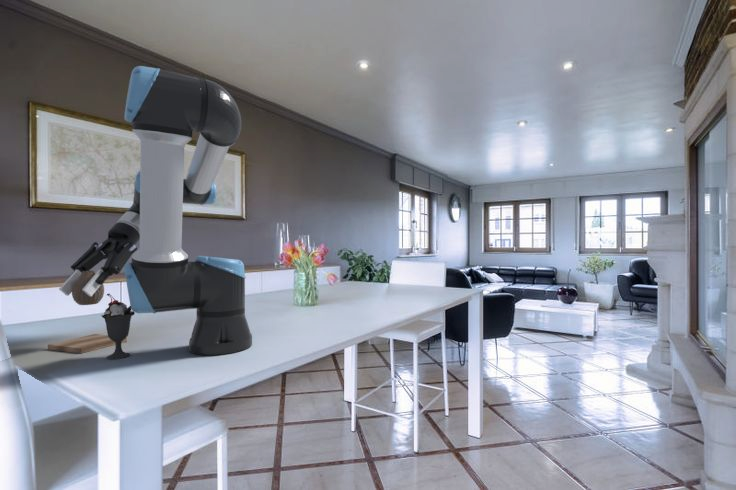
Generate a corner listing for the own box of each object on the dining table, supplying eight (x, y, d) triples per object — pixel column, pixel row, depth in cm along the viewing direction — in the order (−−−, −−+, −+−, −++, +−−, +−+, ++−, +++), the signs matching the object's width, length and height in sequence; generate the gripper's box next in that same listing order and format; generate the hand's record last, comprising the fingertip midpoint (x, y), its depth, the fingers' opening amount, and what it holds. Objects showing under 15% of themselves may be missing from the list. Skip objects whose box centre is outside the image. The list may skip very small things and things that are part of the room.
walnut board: (126, 341, 105) (126, 337, 105) (81, 353, 93) (81, 348, 93) (94, 338, 108) (94, 334, 108) (47, 349, 97) (47, 344, 97)
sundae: (96, 357, 90) (96, 293, 90) (128, 350, 95) (127, 290, 95) (107, 362, 86) (106, 295, 86) (139, 355, 91) (139, 292, 91)
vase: (87, 306, 97) (86, 272, 97) (65, 305, 98) (64, 271, 98) (110, 302, 104) (110, 270, 104) (89, 301, 105) (89, 269, 105)
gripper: (163, 239, 113) (115, 302, 98) (109, 239, 118) (55, 300, 102) (149, 220, 108) (96, 284, 93) (93, 221, 113) (34, 282, 97)
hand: (75, 292), depth 98 cm, fingers closed on vase, 7 cm apart
